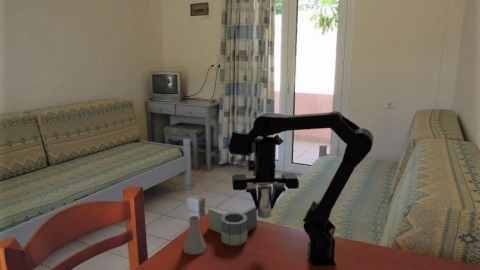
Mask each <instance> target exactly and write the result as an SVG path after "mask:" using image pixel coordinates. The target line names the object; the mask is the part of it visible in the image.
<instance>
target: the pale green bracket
mask: <svg viewBox="0 0 480 270" xmlns="http://www.w3.org/2000/svg"><path fill="white" fill-rule="evenodd" d="M207 211H208V229H210V230H212V231H214V232H217V233H219V234H221V235H220V236H221V237H220V239H221V242H222V243H224V244H225V245H227V246H242V245H243V244H244V243H246V242H247V241H248V232H247V231H246V232H244V233H242V234H240V235H230V234H229V235H228V234H226V233H224V232H222V231H221V216H222V215H225V214H226V212H222V211H220V210H217V209H215V208H212V207H209V208H208V210H207Z"/></svg>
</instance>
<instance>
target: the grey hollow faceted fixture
mask: <svg viewBox="0 0 480 270" xmlns="http://www.w3.org/2000/svg"><path fill="white" fill-rule="evenodd" d="M257 214H258V210H256V207H255V205H253V206H252V207H249V208H248V209H247V210H245V211H243V212H239V211H233V212H232V211H231V212H225V215H222V216H221V231H222V232H224V233H226V234H228V235H229V234H230V235H240V234H242V233H244V232H246V231H247V233H248V232H249V231H252V230H253V229H254V228H257V226H258V224H257V222H258V215H257Z"/></svg>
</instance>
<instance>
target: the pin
mask: <svg viewBox="0 0 480 270" xmlns="http://www.w3.org/2000/svg"><path fill="white" fill-rule="evenodd" d="M271 199H272V184H262V185H257V200H258V210H257V218H261V219H268V218H271V217H272V209H271Z"/></svg>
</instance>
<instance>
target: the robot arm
mask: <svg viewBox="0 0 480 270" xmlns="http://www.w3.org/2000/svg"><path fill="white" fill-rule="evenodd" d="M319 129H321V130H322V129H330V130H332V132H334V133H335V134H336V136H337V137H338V138H340V140H341V141H342V142H343V143H344V144H346V147H345V150H344V153H343V157H342V159H341V162H340V163H339V166H338V168H337V170H336V171H335V173H334V175H333V177H332V179H331V181H330V182H329V184H328V187H327V188H326V190H325V192H324V194H323V196H322V197H321V199H320V200H319V201H318V202H316V201H315V200H313V201H312V202H311V204H310V207H309V208H308V210H307V211H306V213H305V215H304V217H303V219H302V222H303V230H304V232H305V233H306V234H307V235H308V238H309V241H308V242H307V256H308V258H309V259H310V261H311V263H312V265H313V266H320V265H321V266H325V265H326V266H327V265H336V264H337V261H336V259H335V252H336V251H335V250H336V240H335V238H334V234H335V232H336V226H335V225H334V223H332V221H330V217H331V214H332V211H333V208H334V206H335V204H336V203H337V201H338V199H339V197H340V195H341V194H342V192H343V190H344V189H345V188H346V187H345V186H346V185H347V183H348V181H349V180H350V177H352V174H353V172H354V170H355V169H356V168H357V167H358V165H359V164H360V163H361V162H362V161H363V160H364V159H366V157H367V155H368V154H369V153H370V152H371V150H372V149H373V144H374V136H373V133H371V131H370V130H368V129H366V128H364V127H362V128H361V127H359V125H357V124H356V123H355V122H353V121H351V120H350V119H349V118H347V117H346V116H344V115H343V114H342V113H341V112H339V111H336V110H334V111H330V112H319V113H318V112H317V113H305V114H292V115H291V114H290V115H288V114H281V113H274V112H266V113H263V114H262V115H259V116H258V117H256V118H255V119H254V121H253V126H252V128H251V130H250V131H249V132H243V131H239V130H234V131H232V132H231V137H230V139H229V144H228V152H229V154H230V155H237V156H242V157H243V156H244V157H251V156H252V154H254V153H255V157H254V159H255V160H254V159H251V160H249V159H248V160H247V171H251V172H253V176H254V177H247V175H246V174H245V173H244V174H243V173H242V174H239V173H235V174H233V175H232V176H231V183H232V184H231V186H232V190H233V191H245V192H246V193H249V195H251V197H252V199H253V203H254V206H255V207H256V210H257V211H258V189H257V188H256V185H257V186H258V185H262V184H268V185H271V186H272V199H271V210H273V209H274V207H275V205H276V203H277V202H278V199H279V197H280V196H281V195H282V194H283V192H286V188H287V189H288V190H290V189H291V190H292V189H293V190H296V189H299V186H300V183H299V182H300V181H299V178H298V177H297V175H296V174H295V172H293V173H291V172H290V173H289V172H287V173H285V172H283V173H282V174H281V177H280V176H279V177H277V176H276V158H277V157H276V153H277V151H276V150H277V146H281V145H282V144H283V143H284V140H283V138H281V137H280V136H279V134H281V133H283V132H287V131H288V132H289V131H303V130H319ZM258 137H259V138H258ZM260 137H261V138H260ZM285 187H286V188H285Z"/></svg>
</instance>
